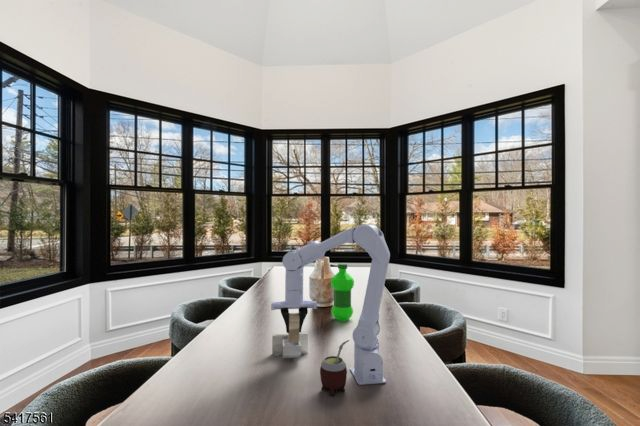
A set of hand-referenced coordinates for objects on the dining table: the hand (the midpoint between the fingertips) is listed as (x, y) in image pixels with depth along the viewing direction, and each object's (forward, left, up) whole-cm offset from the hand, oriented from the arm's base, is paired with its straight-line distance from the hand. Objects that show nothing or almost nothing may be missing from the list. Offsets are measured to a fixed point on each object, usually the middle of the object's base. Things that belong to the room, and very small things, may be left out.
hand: (293, 331), depth 102 cm
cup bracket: (+3, +1, -9) cm, 10 cm away
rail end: (0, 0, -3) cm, 3 cm away
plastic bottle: (+39, -25, -10) cm, 48 cm away
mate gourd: (-19, -9, -10) cm, 23 cm away
